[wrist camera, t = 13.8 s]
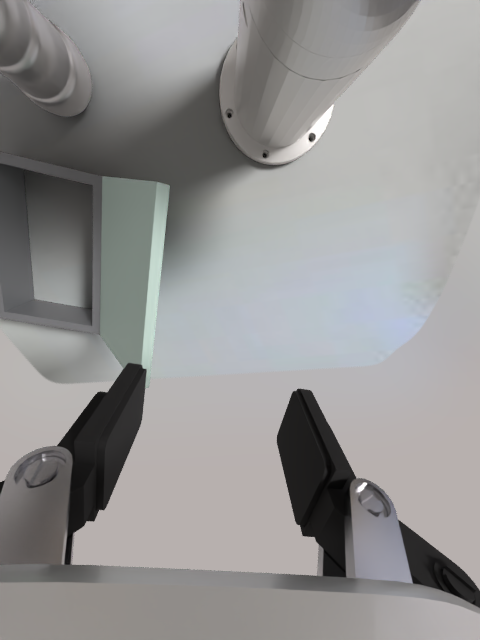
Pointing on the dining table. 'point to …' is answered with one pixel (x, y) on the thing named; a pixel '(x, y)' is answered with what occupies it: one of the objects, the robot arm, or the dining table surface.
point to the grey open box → (15, 258)
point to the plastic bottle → (42, 60)
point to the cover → (131, 266)
